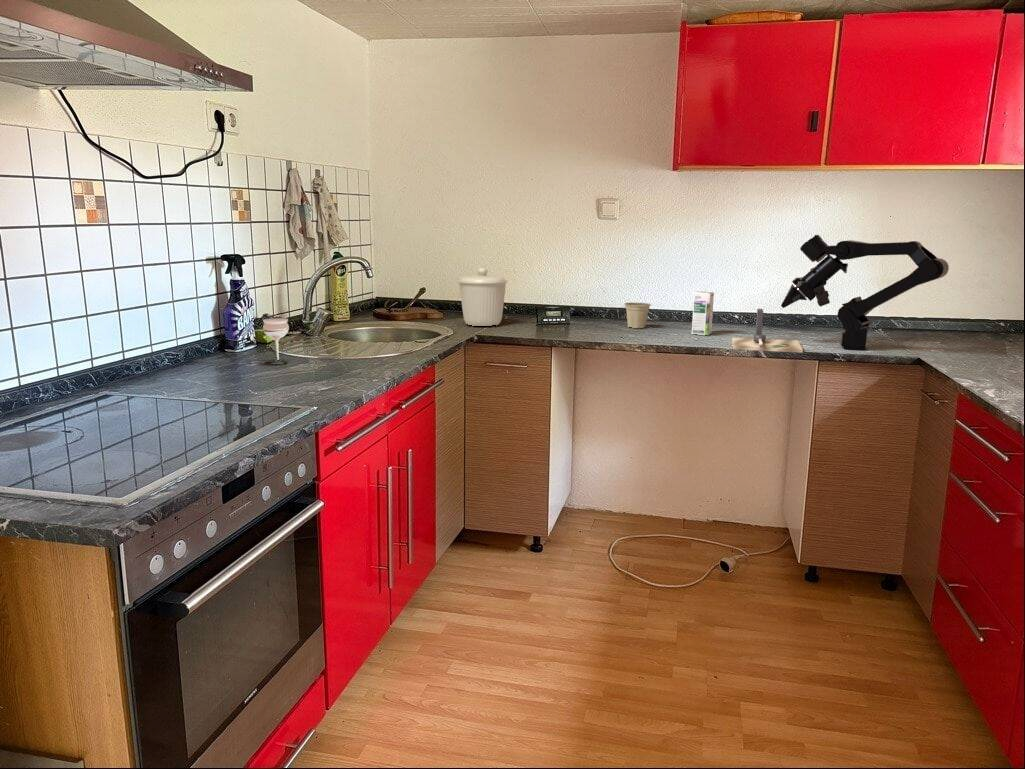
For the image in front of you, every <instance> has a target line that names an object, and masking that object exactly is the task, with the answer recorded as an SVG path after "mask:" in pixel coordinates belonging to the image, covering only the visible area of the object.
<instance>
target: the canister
mask: <svg viewBox="0 0 1025 769" xmlns="http://www.w3.org/2000/svg"><path fill="white" fill-rule="evenodd" d="M457 282H458V284H459V291H460V292H459V293H460V299H461V300H460V301H461V302H460V303H461V308H462V315H463V320H464V323H465V324H466V325H467V324H468V325H467V326H469V325H472V326H471V327H473V326H492V325H496V326H498V325H500V323H501V322H502V318H503V313H504V302H505V296H506V294H505V293H506V285H507V283H508V279H505V278H504V277H503V276H501V275H493V274H491V275H490V274H488V269H487V268H486V267H479V268H478V269H477V274H472V275H464V276H462V277H460V279H458V280H457ZM492 327H493V326H492Z"/></svg>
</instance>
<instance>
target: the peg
mask: <svg viewBox="0 0 1025 769" xmlns="http://www.w3.org/2000/svg"><path fill="white" fill-rule="evenodd" d="M763 316H764V310H763V308H757V309H756V319H755V320H756V323H755V333H754V334H753V338H754V340H753V341H754V342H759V345H763V342H765V341H766V339H767V335H766V334H762V332H763V318H764V317H763Z"/></svg>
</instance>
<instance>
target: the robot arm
mask: <svg viewBox="0 0 1025 769" xmlns="http://www.w3.org/2000/svg"><path fill="white" fill-rule="evenodd" d="M799 250H800V251H801V253H802V254H803V255H805V256H806V258H808V259H809V261H811V262H812V263H814V262H816V263H818V264H816V265H815V266H814V267H811V268H810V269H809V271H808V272H807V273H806V274H805V275H804V276H801V277H795V278H794V279H793V280H791V283H792V284H791V285H790V288H789V289H788V291H787V293H786V296H785V297H784V299H783V300H782V302H781V305H780V306H781V308H782V309H784V308H786V307H788V306H790V305H792V304H794V303H796V302H798V301H800V300H801V301H808V300H809V301H810V302H811V301H813V299H815V298H816V302H817V304H818V307H820V308H821V307H823V306H826V305H828V304H830V303H831V302H830V299H829V297H830V294H829V291H828V290H826V289H825V286H826V285H827V282H828V281H829V280H830V279H831V278H832V277H833V276H834V275H835V274H837V273H838V272H839V271H842V272H843V273H844V274H847V273H848V268H849V264H848V262H845V263H844V262H843V261H846V260H853V259H858V258H864V257H867V256H869V257H870V256H905V255H907V256H909V258H910V259H911V260H912V261H913V263H914V264H915V265H916V266H917V268H915V269H914V270H913V271H912V272H911V273H910V274H908V275H906V276H905V277H903V278H901V279H899V280H898V281H896V282H894V283H892V284H890V285H888V286H886V287H884V288H883V289H880V290H879V291H877V292H875V293H873V294H872V295H870V296H868V297H866V298H864V299H862V296H861V295H859V296H857V297H853V298H852V299H850V300H849V301H847V302H844V303H841V307H839V309H838V310H837V319H838V320H839V322H841V325H842V329H843V331H841V333H840V336H841V337H840V346H841V348H842V349H843V350H857V351H859V350H860V351H867V350H868V349H867V346H866V345H867V337H868V328H869V326H870V324H871V321H870V319H869V317H867V315H869V313H871V311H873V310H874V309H876V308H878V307H880V306H881V305H884V304H885V303H888V302H889V301H891V300H892V299H895V298H897V297H898V296H900V295H902V294H904V293H906V292H908V291H910V290H912V289H914V288H916V287H918V286H920V285H923V284H927V283H930V282H932V281H935V280H938V279H941V278H943V277H945V276H946V275H948V272H949V269H950V268H949V263H948V262H947V261H946V260H945V259H943V258H938V257H937V256H936V255H935V254H934V253H932V252H931V251H930V250H928V249H927V248H926V247H924V245H923V244H922V243H921V242H920V241H918V240H913V241H902V242H899V241H898V242H896V241H895V242H872V243H871V242H866V241H858V240H853V239H852V240H851V239H850V240H842V241H841V240H840V241H839V242H837V243H836V245H834V244H833V245H829V244H827V243H826V241H824V239H823V238H822V237H821V236H820V234H815V235H814V236H812V237H811V238H810V239H808V240H807V241H805V242H804V243H803V244H802V245H801V246H800V247H799ZM833 256H835V257H833Z"/></svg>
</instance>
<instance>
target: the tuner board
mask: <svg viewBox="0 0 1025 769" xmlns="http://www.w3.org/2000/svg"><path fill="white" fill-rule="evenodd" d="M731 340H732V343H731V344H732V349H733V350H740V351H761V352H762V351H764V352H778V353H779V352H783V353H785V352H786V353H804V352H803V350H804V349H803V347H802V345H801V343H800V342H799V341H798V340H796V339H794V340H793V339H777V338H776V339H773V338H772V339H771V338H766V341H765V342H763V345H759V342H754V341H753V340H754V337H753V338H748V337H732V338H731Z"/></svg>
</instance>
